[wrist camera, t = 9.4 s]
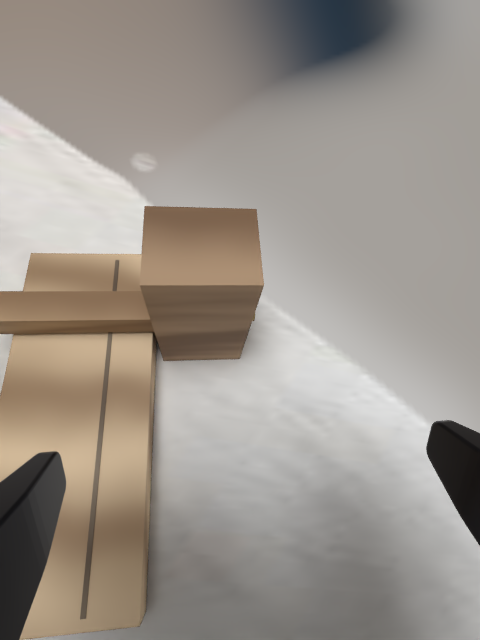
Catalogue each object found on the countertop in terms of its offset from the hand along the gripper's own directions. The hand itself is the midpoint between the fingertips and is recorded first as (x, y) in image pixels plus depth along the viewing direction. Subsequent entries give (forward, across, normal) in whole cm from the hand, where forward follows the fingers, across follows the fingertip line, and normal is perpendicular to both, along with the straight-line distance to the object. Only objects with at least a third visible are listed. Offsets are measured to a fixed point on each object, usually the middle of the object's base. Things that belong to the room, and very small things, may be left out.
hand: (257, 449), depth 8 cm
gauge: (+16, +6, +3) cm, 17 cm away
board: (+12, +8, +7) cm, 16 cm away
